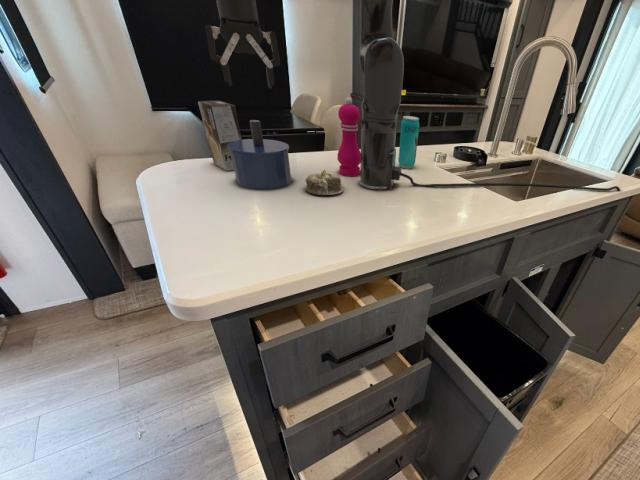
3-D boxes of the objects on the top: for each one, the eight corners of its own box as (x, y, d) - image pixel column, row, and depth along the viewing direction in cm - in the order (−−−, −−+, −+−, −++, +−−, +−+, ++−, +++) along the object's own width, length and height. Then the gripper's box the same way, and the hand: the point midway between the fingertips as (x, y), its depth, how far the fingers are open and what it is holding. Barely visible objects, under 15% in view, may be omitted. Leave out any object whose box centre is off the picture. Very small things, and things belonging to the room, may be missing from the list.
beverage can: (414, 170, 108) (420, 119, 99) (397, 168, 108) (401, 117, 99) (414, 165, 113) (419, 117, 104) (398, 163, 113) (402, 115, 104)
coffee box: (248, 168, 95) (236, 105, 85) (226, 171, 91) (211, 105, 81) (233, 160, 99) (220, 100, 90) (212, 163, 95) (196, 100, 86)
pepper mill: (359, 177, 97) (360, 100, 85) (335, 175, 96) (333, 97, 84) (362, 170, 102) (363, 97, 90) (339, 168, 102) (338, 94, 90)
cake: (298, 194, 83) (294, 172, 80) (318, 184, 91) (316, 164, 87) (332, 198, 80) (329, 176, 77) (350, 188, 88) (348, 167, 85)
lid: (298, 147, 88) (295, 120, 84) (274, 160, 76) (270, 129, 72) (246, 141, 88) (241, 113, 84) (215, 152, 77) (207, 121, 73)
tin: (298, 177, 92) (295, 145, 87) (278, 192, 81) (273, 157, 76) (253, 171, 93) (247, 139, 88) (226, 185, 82) (218, 150, 77)
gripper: (192, -18, 59) (216, 87, 69) (273, -6, 64) (285, 90, 74) (195, -13, 65) (217, 83, 75) (270, -3, 70) (281, 86, 80)
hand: (251, 86), depth 74 cm, fingers open, 8 cm apart
